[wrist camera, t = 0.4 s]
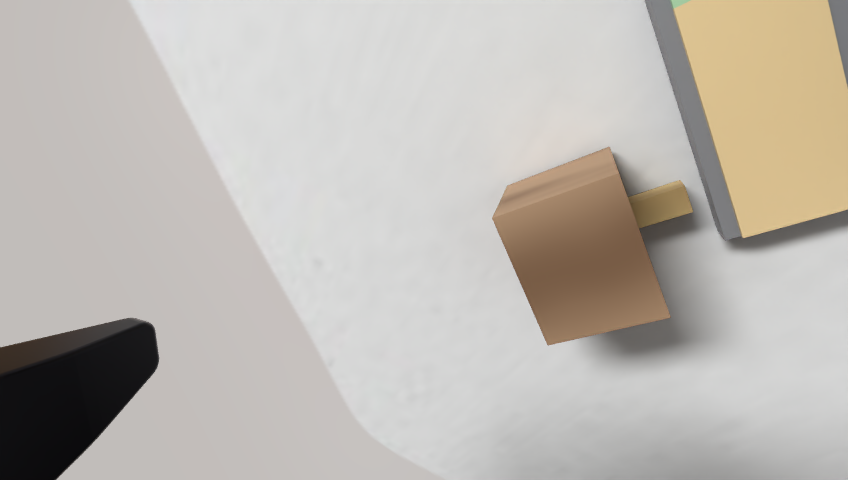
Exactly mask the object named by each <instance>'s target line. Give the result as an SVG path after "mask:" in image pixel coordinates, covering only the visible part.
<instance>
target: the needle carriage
mask: <svg viewBox="0 0 848 480" xmlns="http://www.w3.org/2000/svg"><path fill="white" fill-rule="evenodd" d="M692 212H693V210H692V207H691V204H690V200H689V197H688V194H687V191H686V188H685V186H684V184H683V183H682V182H681V181H680V180H678V181H675V182H672V183H669V184H666V185H663V186H660V187H657V188H654V189H651V190H648V191H645V192H642V193H639V194H636V195H633V196H630V197H627V194H626V191H625V188H624V186H623V183H622V180H621V177H620V174H619V172H618V169H617V166H616V163H615V161H614V158H613V155H612V152H611V150H610V147H608V148H605V149H602V150H600V151H597V152H594V153H592V154H589V155H587V156H584V157H581V158H579V159H576V160H574V161H571V162H568V163H566V164H563V165H560V166H558V167H555V168H553V169H550V170H547V171H545V172H542V173H539V174H537V175H534V176H532V177H529V178H526V179H524V180H521V181H518V182H516V183H513V184H511V185H508V186H507V188H506V190H505V192H504V194H503V196H502V198H501V200H500V203H499V205H498V207H497V209H496V211H495V213H494V215H493V217H492V219H493V221H494V224H495V226H496V228H497V230H498V233H499V235H500V237H501V240H502V242H503V244H504V246H505V249H506V251H507V253H508V256H509V258H510V260H511V262H512V265H513V267H514V269H515V272H516V274H517V276H518V278H519V281H520V283H521V285H522V288H523V290H524V292H525V294H526V297H527V299H528V301H529V304H530V306H531V308H532V310H533V313H534V315H535V317H536V320H537V322H538V324H539V326H540V329H541V331H542V333H543V336H544V338H545V340H546V342H547V345H552V344H556V343H561V342H565V341H570V340H574V339H578V338H583V337H587V336H592V335H596V334H601V333H605V332H609V331H614V330H618V329H623V328H627V327H632V326H636V325H640V324H645V323H649V322H654V321H658V320H663V319H667V318H671V317H670V314H669V311H668V308H667V305H666V303H665V300H664V297H663V294H662V292H661V289H660V286H659V283H658V280H657V278H656V275H655V272H654V269H653V266H652V264H651V261H650V258H649V255H648V252H647V250H646V247H645V244H644V241H643V239H642V236H641V233H640V230H639V228H642V227H646V226H649V225H652V224H656V223H659V222H662V221H665V220H669V219H672V218H675V217H678V216H682V215H685V214H688V213H692Z"/></svg>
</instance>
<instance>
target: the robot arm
mask: <svg viewBox="0 0 848 480" xmlns="http://www.w3.org/2000/svg"><path fill="white" fill-rule="evenodd" d="M158 362H159V354H158V347H157V340H156V333H155V328H154V327H153V325H152V324H151V323H149V322H146V321H143V320H139V319H136V318H127V319H122V320H117V321H113V322H109V323H104V324H101V325H96V326H91V327H87V328H83V329H79V330H75V331H70V332H65V333H61V334H57V335H52V336H48V337H44V338H40V339H35V340H31V341H26V342H22V343H18V344H13V345H9V346H5V347H0V480H56V479H57V478H58V477H59V476H60V475H61V474H62V473H63V472H64V471H65V470H66V469H67V468H68V467H69V466H70V465H71V464H72V463H73V462H74V461H75V460H76V459H78V458H79V457H80V455H82V454H83V453H84V451H85V450H86V449H87V448H88V447H89V446H90V445H91V444H92V443H93V442H94V441H95V440H96V439H97V438H98V437H99V436H100V435H101V433H102V432H103V431H104V430H105V429H106V428H107V427H108V425H109V424H110V423H111V422H112V421H113V420H114V418H115V417H116V416H117V415H118V414H119V413H120V412H121V410H122V409H123V408H124V407H125V406H126V405H127V403H128V402H129V401H130V400H131V399H132V398H133V397H134V395H135V394H136V393H137V392H138V391H139V389H140V388H141V387H142V386H143V385H144V384H145V383H146V381H147V380H148V379H149V378H150V377H151V376H152V374H153V373H154V372H155V370H156V369H157V366H158Z"/></svg>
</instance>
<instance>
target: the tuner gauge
mask: <svg viewBox="0 0 848 480" xmlns="http://www.w3.org/2000/svg"><path fill="white" fill-rule="evenodd" d="M645 2H646V6H647V9H648V12H649V15H650V18H651V21H652V25H653V28H654V31H655V34H656V37H657V40H658V44H659V47H660V50H661V53H662V56H663V59H664V63H665V66H666V69H667V72H668V75H669V78H670V82H671V85H672V88H673V91H674V94H675V97H676V101H677V104H678V107H679V110H680V113H681V116H682V120H683V123H684V126H685V129H686V132H687V135H688V139H689V142H690V145H691V148H692V151H693V154H694V158H695V161H696V164H697V167H698V170H699V173H700V177H701V180H702V183H703V186H704V189H705V192H706V196H707V199H708V202H709V205H710V208H711V211H712V215H713V218H714V221H715V224H716V227H717V231H718V232H719V233H720V234H721V236H722V237H723V238H724V240H725V241H726V240H729V239H733V238H736V237H740V236H742V237H743V238H746V237H749V236H753V235H757V234H760V233H764V232H768V231H771V230H775V229H779V228H782V227H786V226H790V225H793V224H797V223H801V222H804V221H808V220H812V219H815V218H819V217H823V216H826V215H830V214H834V213H837V212H841V211H845V210H848V0H645Z"/></svg>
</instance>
